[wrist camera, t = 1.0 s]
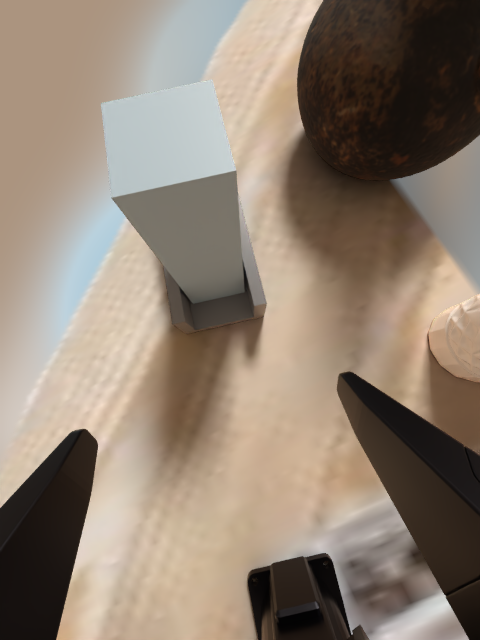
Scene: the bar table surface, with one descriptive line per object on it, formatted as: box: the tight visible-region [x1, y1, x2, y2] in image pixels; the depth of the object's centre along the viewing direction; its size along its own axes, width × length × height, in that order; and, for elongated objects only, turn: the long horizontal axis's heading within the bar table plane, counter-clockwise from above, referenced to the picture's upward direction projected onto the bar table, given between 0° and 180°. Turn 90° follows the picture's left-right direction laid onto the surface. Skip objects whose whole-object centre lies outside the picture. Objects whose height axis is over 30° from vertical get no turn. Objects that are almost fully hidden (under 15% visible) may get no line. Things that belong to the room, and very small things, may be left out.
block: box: [101, 80, 245, 304], centre depth 17 cm, size 5×5×14 cm
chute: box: [163, 194, 267, 334], centre depth 23 cm, size 14×8×4 cm, turn 12°
